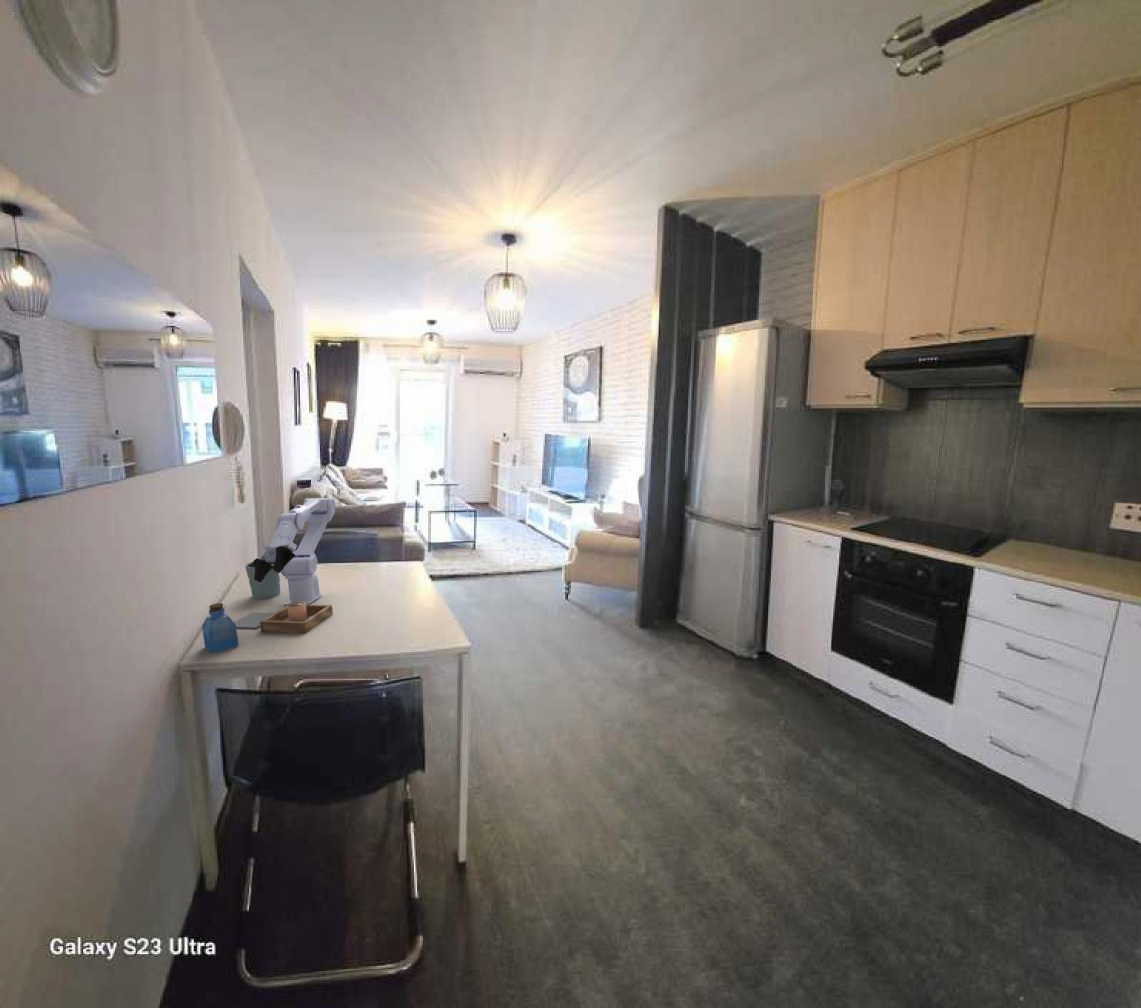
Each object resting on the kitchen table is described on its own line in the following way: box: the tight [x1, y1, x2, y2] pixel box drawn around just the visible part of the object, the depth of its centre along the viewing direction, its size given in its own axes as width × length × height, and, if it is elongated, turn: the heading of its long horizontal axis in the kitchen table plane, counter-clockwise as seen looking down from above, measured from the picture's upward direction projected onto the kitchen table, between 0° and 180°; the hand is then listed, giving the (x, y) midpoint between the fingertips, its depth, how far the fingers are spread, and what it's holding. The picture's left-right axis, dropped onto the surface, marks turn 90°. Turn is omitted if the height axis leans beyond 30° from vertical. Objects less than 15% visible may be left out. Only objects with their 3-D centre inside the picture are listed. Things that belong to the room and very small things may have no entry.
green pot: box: [244, 561, 281, 600], centre depth 176 cm, size 10×10×12 cm
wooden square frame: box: [259, 604, 334, 634], centre depth 153 cm, size 14×14×3 cm
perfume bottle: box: [201, 602, 239, 654], centre depth 136 cm, size 6×6×12 cm
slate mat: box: [233, 611, 275, 630], centre depth 154 cm, size 11×10×1 cm
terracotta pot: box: [286, 601, 308, 622], centre depth 152 cm, size 5×5×6 cm
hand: (266, 575), depth 147 cm, fingers open, 7 cm apart
